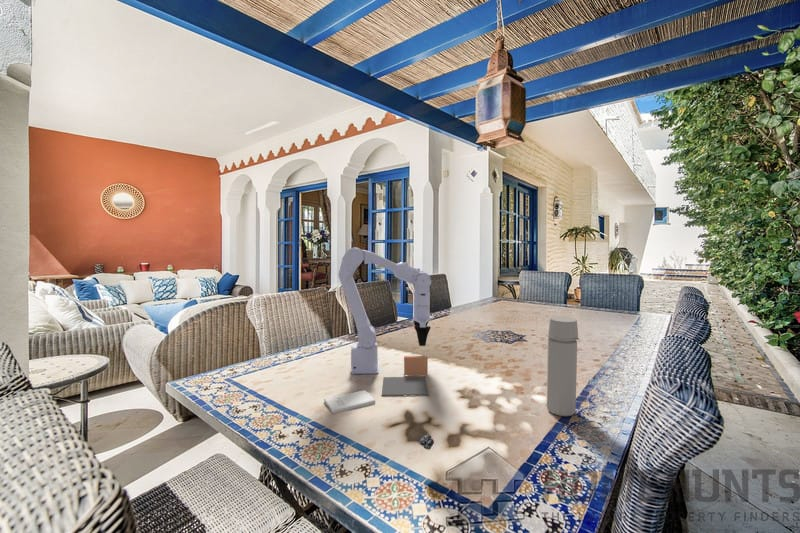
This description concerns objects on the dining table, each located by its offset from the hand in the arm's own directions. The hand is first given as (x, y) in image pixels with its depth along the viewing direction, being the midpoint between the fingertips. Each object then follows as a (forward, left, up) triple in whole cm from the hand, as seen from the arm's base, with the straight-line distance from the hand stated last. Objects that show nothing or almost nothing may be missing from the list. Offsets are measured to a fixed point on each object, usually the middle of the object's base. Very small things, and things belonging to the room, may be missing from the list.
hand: (421, 342), depth 130 cm
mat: (-6, -16, -9) cm, 20 cm away
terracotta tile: (-2, -6, -10) cm, 12 cm away
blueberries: (-1, -48, -10) cm, 50 cm away
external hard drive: (-22, -27, -10) cm, 37 cm away
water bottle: (+36, -33, -10) cm, 50 cm away
